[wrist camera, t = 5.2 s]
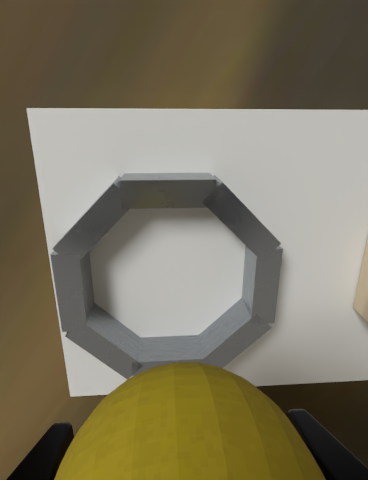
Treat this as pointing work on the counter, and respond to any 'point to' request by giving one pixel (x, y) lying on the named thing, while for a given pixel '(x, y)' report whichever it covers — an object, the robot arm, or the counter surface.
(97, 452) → the lemon
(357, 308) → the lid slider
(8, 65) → the counter surface
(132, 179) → the ring
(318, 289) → the board
